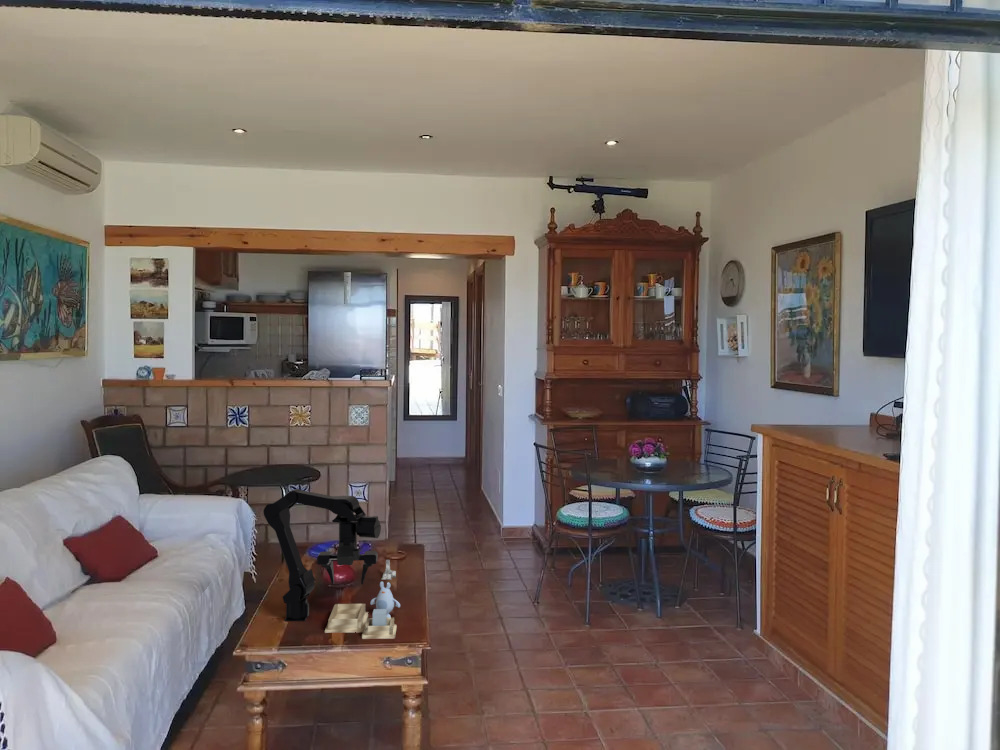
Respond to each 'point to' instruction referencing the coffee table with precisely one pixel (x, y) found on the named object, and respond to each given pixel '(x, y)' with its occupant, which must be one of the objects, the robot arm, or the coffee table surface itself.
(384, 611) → the block
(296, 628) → the coffee table surface
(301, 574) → the robot arm
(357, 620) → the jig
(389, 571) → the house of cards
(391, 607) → the toy figure
